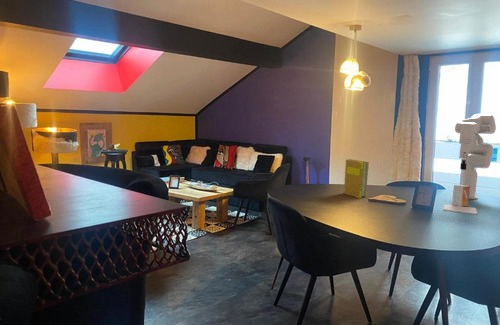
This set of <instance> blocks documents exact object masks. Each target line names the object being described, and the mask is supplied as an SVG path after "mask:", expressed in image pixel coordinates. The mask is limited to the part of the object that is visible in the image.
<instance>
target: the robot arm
mask: <svg viewBox="0 0 500 325" xmlns="http://www.w3.org/2000/svg"><path fill="white" fill-rule="evenodd" d="M496 126H497V125H496V120H495V117H494V115H492V114H491V113H490V114H489V113H484V114H483V113H476V114H473V115H471V117H470V118H465V119H460V120H459V121H457V122H456V124H455V126H454V131H455V132H456V133H457V134H459V142H458V143H459V144H460V146H459V159H461V160H460V161H461V162H460V167H459V168H460V170H462V173H461V184H460V185H464V186H470V188H469V198H468V200H476V199H479V197H478V195H476V193H477V192H476V191H477V185H478V184H477V182H478V172H477V171H476V169H489V167H490V166H491V162H492V159H493V154H494V146H493V145H492V144H489V143H484V139H483V137H482V136H481V135H480V134H483V135H486V134H487V135H493V134H494V133H495V132H496V131H497V130H496V128H497V127H496Z"/></svg>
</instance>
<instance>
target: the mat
mask: <svg viewBox="0 0 500 325" xmlns="http://www.w3.org/2000/svg"><path fill="white" fill-rule="evenodd" d="M443 211H447V212H452V213H453V212H456V213H463V214H469V215H478V210H477V207H470V206H469V207H468V206H456V205H452V204H445V203H444V204H443Z"/></svg>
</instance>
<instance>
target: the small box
mask: <svg viewBox="0 0 500 325" xmlns="http://www.w3.org/2000/svg"><path fill="white" fill-rule="evenodd" d="M469 188H470V186H464V185H461V184H454V185H453V190H452V191H453V194H452V202H451V205H454V206H463V207H468V205H469V199H468V198H469Z"/></svg>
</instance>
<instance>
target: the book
mask: <svg viewBox="0 0 500 325" xmlns="http://www.w3.org/2000/svg"><path fill="white" fill-rule="evenodd" d="M369 164H370V162H369V161H365V160H360V159H359V160H357V159H351V158H350V159H345V169H344V183H343V184H344V185H343V186H344V187H343V194H344V195H347V196H352V197H355V198H359V199H361V198H367V195H368V177H369V175H368V174H369Z"/></svg>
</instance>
